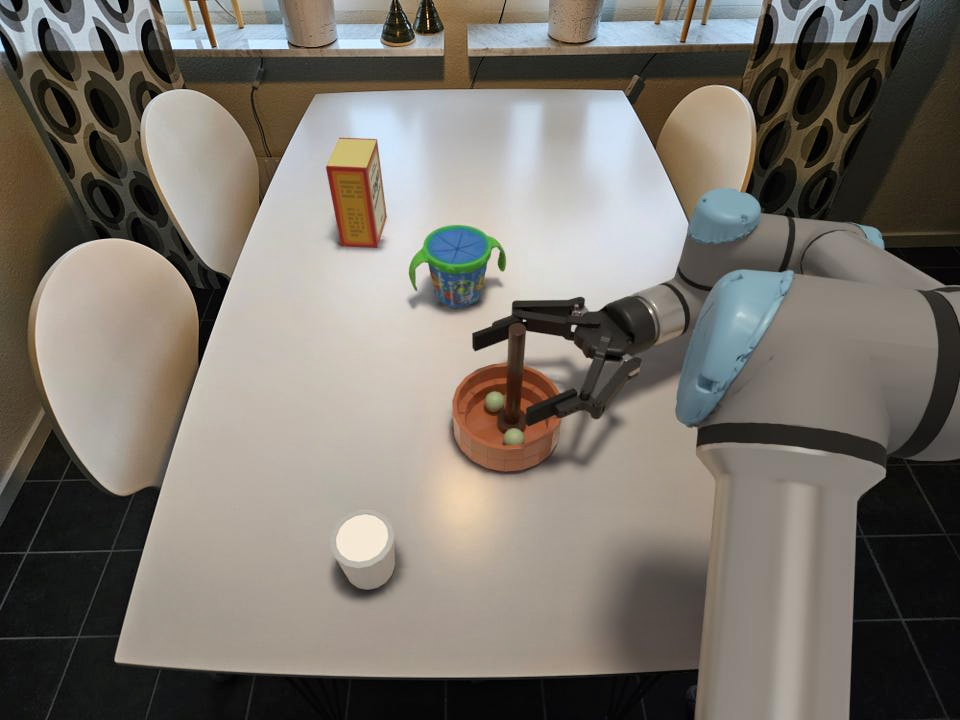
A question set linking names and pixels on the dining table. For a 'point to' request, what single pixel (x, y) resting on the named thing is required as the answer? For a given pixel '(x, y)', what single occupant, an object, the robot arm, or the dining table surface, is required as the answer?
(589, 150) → the dining table surface
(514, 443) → the bead
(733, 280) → the robot arm
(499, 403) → the bead
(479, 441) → the bowl
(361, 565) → the white cup
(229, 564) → the dining table surface
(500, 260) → the snack cup
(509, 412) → the stick
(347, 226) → the baking soda box
